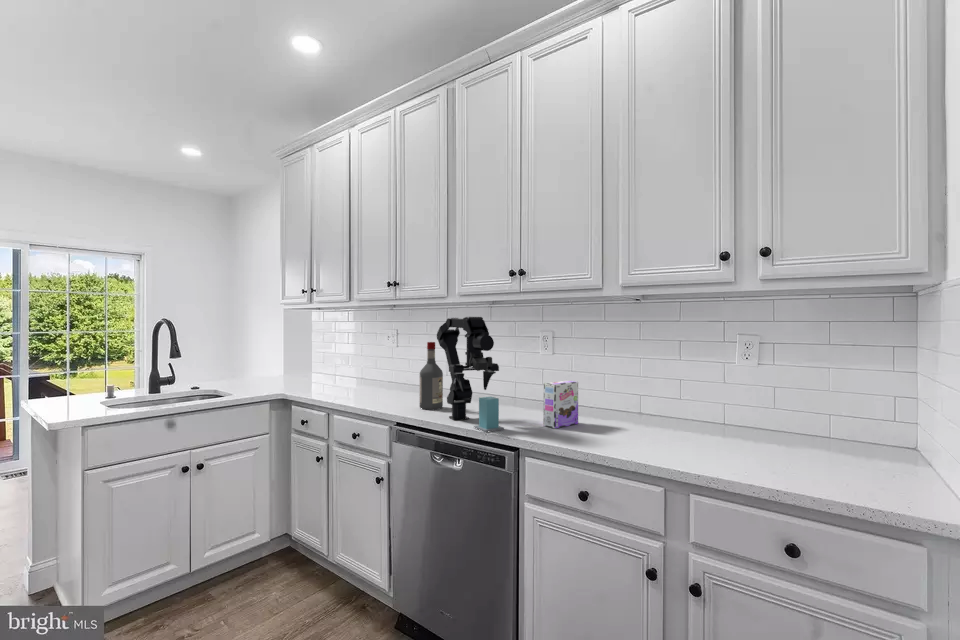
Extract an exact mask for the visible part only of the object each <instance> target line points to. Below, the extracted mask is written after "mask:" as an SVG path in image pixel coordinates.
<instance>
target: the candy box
mask: <svg viewBox="0 0 960 640" xmlns="http://www.w3.org/2000/svg"><path fill="white" fill-rule="evenodd" d="M542 423H543V427H546V428H551V429H553V430H554V429H559V428H563V427H569V426H570V427H571V426H573V425H574V426H575V425H578V424H579V382H578V381H575V380H574V381H572V380H561V381H551V382H544V383H543V422H542Z"/></svg>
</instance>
